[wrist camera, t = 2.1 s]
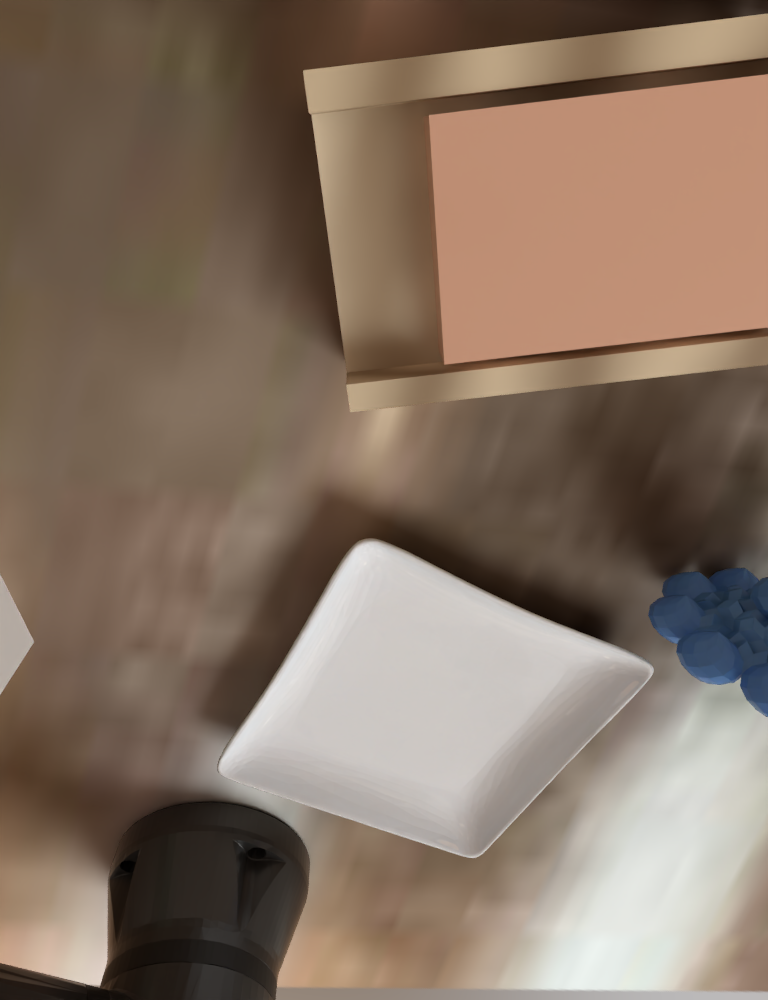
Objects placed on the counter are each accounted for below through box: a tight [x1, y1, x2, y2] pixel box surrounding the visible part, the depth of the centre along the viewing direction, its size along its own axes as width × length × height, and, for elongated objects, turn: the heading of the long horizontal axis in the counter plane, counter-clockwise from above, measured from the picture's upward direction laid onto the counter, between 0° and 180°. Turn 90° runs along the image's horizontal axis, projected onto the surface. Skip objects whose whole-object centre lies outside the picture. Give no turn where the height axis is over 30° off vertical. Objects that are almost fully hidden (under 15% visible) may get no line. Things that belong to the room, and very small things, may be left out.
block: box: [423, 74, 768, 365], centre depth 25 cm, size 14×9×2 cm, turn 96°
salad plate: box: [217, 538, 654, 858], centre depth 43 cm, size 21×21×3 cm
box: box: [303, 14, 768, 412], centre depth 27 cm, size 18×12×7 cm, turn 96°
